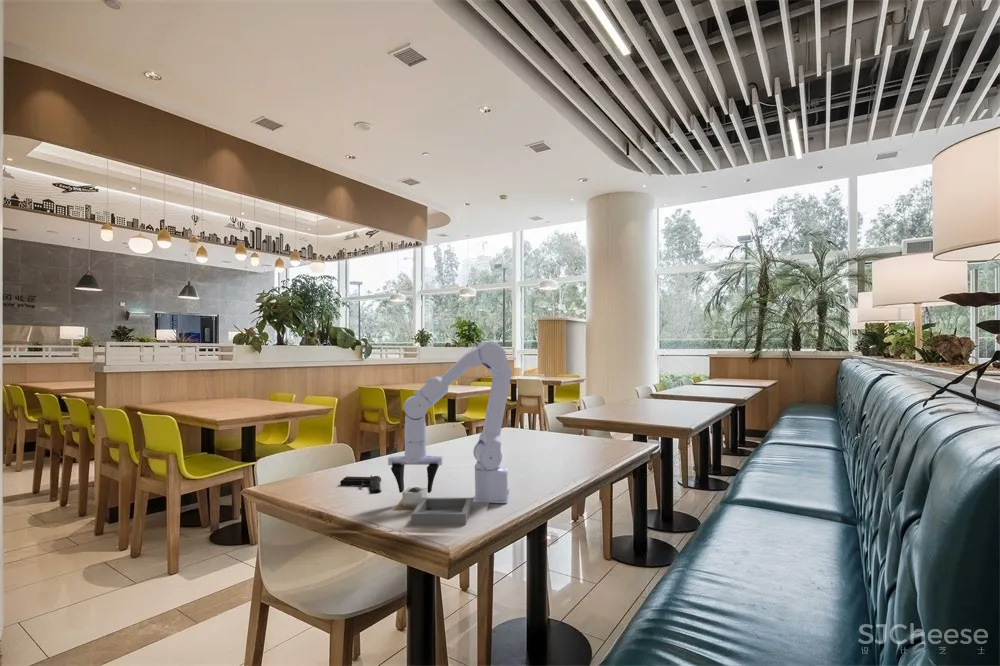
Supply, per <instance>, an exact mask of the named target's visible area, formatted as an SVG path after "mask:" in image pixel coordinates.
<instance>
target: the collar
mask: <svg viewBox="0 0 1000 666" xmlns="http://www.w3.org/2000/svg"><path fill="white" fill-rule="evenodd" d="M412 488H413V487H407V488H406V489H404V491H403V492H402V493H401V494H402V496H401V497H402V498H403V507H417V506H418V504H419V503H420V501H421V500H422V499H423V498H428V497H427V496H428V490H427V488H428V487H419V488H420V492H412Z"/></svg>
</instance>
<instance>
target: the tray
mask: <svg viewBox="0 0 1000 666" xmlns="http://www.w3.org/2000/svg"><path fill="white" fill-rule="evenodd" d="M472 501H473V498H472V497H427V498H423V499H422V500H421V501H420V503H419V504H418V506H417V507H416V509H415V510H412V513H411V525H431V526H432V525H435V526H436V525H437V526H438V525H443V526H444V525H447V526H449V525H454V526H457V525H460V526H461V525H463V526H466V525H467V522H468V520H469V517H470V515H471V511H472V510H473V509H472V508H473V502H472ZM427 508H428V510H427ZM429 508H431V510H429Z"/></svg>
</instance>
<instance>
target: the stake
mask: <svg viewBox="0 0 1000 666" xmlns="http://www.w3.org/2000/svg"><path fill="white" fill-rule="evenodd" d="M411 488H412V492H420V488H421V487H420V486H419V487H417V486H415V487H411ZM415 509H416V507H403V497H402V498H401V500H400V501H399V502H398V503H397V504H396V506H394V507H393V509H392V511H414V510H415ZM427 510H428V508H427ZM429 510H431V508H429Z"/></svg>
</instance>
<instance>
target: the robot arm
mask: <svg viewBox="0 0 1000 666" xmlns="http://www.w3.org/2000/svg"><path fill="white" fill-rule="evenodd" d="M476 366H484V367H486V368H487V370H488V371H489V373H490V374H491V375H492V380H491V381H492V382H491V387H490V391H489V396H488V400H487V401H488V402H487V406H486V411H485V418H484V423H483V428H482V431H481V432H480V435H479V437H478V438H479V439H478V441H477V442H476V444H475V446H474V447H473V451H472V452H473V457H474V459H475V460H476V462H475V465H474V489H475V490H474V496H473V498H472V503H475V502H476V503H489V504H507V503H508V501H509V500H508V499H509V495H510V488H509V474H508V473H509V471H508V467H505V466H504V467H503V466H501V463H502V460H503V454H502V452H501V451H502V449H501V448H502V447H501V446H502V440H501V431H502V425H503V421H504V417H505V410H506V406H507V401H508V395H509V390H510V383H511V379H512V369H511V366H510V363H509V361H508V358H507V352H506V351H505V349H504V348H503V347H502V346H501V345H500V343H498V342H497V341H494V340H492V341H491V340H490V341H482V342H480V343H478V344H477V345H476V346H475V347H472V348H471V349H470V350H468V351H467V352H466V353H464V355H462V356H461V357H460V358H459V359H458V360H457V361H456V362H455V363H454V364H453V365H452V366H451V367H450V368H449V369H448V370H447V371H446V372H445V373H444V374H442V375H441V376H433V377H432V378H431V377H428V378H427V379H426V381H425V382H426V383H424V385H423V386H421V388H420V389H418V390H415V391H413V396H409V397H408V398H407V399H406V400H405V402H404V403H403V407H402V408H403V411H404V413H405V417H404V422H405V423H404V455H397V456H395V455H394V456H389V457H388V458H387V465H388V466H391V467H390V470H391V472H392V474H393V476H394V478H395V481H396V483H397V487H398V492H399V493H401V494H402V493H403V492H404V491H405V482H404V481H405V480H404V479H405V478H404V477H405V476H404V475H405V465H413V466H414V465H415V466H417V465H418V466H419V465H425V466H427V465H428V466H427V467H426V472H427V487H426V488H427V494H428V493H429V494H430V493H431V492H432V491H433V490H432V489H433V484H434V479H435V476H436V474H437V471H438V469H439V466H442V465H443V461H444V460H443V456H437V455H436V456H435V455H427V423H426V415H427V412H428V408H432V407H433V406H434V405H436V404H437V403H438V401H440V400H441V399H442V398H443V397H444V396H446V394H447V393H448V392H449V386H450V385H451V384H452V383H453V382H454V381H456V380H457V379H458V378H460V376H461V375H463V374H464V373H465V372H466V371H468V370H469V369H470V368H472V367H476Z"/></svg>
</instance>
